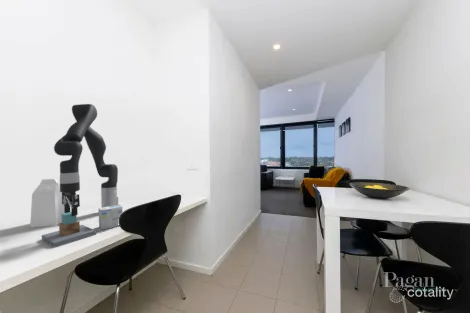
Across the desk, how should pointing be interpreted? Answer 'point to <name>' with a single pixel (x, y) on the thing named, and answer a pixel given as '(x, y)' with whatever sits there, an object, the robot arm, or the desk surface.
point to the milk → (47, 204)
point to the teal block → (68, 218)
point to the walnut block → (69, 228)
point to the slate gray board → (58, 239)
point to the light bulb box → (109, 216)
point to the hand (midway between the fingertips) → (70, 214)
